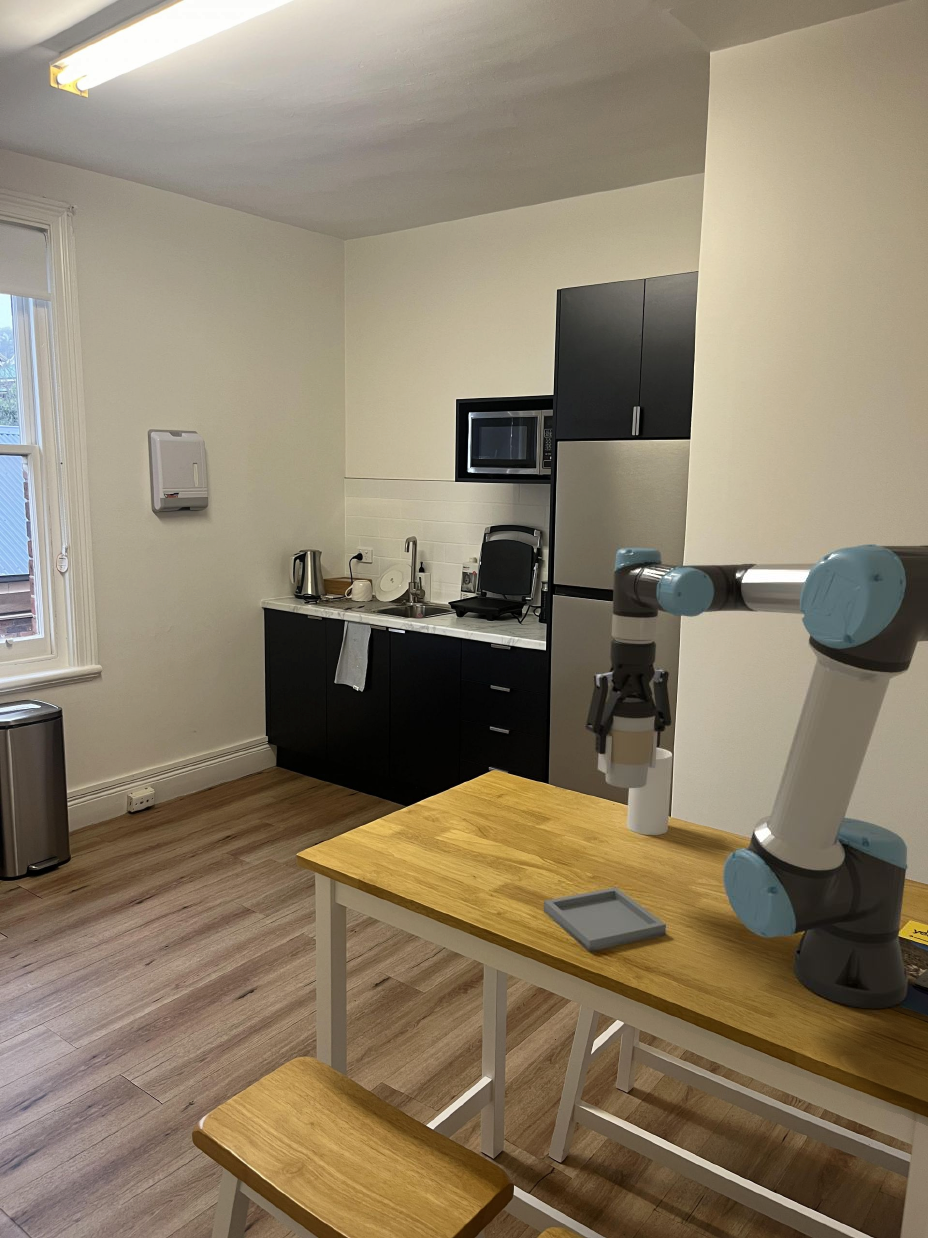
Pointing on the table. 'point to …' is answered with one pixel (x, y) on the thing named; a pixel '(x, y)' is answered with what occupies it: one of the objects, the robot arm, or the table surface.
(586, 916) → the tray
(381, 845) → the table surface
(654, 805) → the cup
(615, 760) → the coffee cup
